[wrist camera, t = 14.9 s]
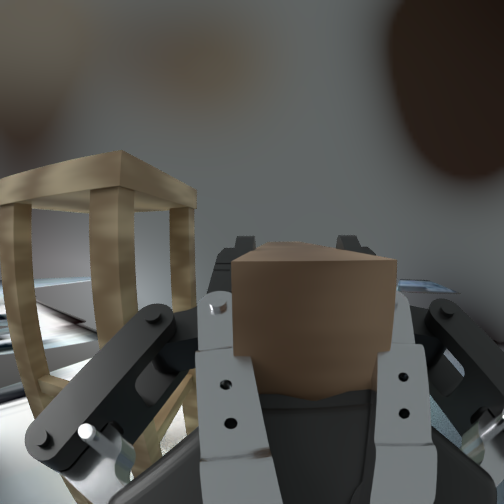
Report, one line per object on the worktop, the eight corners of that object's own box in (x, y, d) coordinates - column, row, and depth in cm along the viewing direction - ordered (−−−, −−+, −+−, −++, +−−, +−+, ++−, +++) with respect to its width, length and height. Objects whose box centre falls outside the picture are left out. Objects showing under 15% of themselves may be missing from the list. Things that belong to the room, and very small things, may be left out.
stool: (74, 503, 17) (-1, 179, 15) (128, 433, 33) (101, 197, 31) (179, 538, 16) (121, 150, 14) (210, 447, 32) (196, 190, 30)
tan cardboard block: (235, 410, 6) (231, 260, 6) (268, 272, 34) (268, 241, 34) (381, 404, 6) (396, 260, 6) (298, 272, 34) (298, 241, 34)
